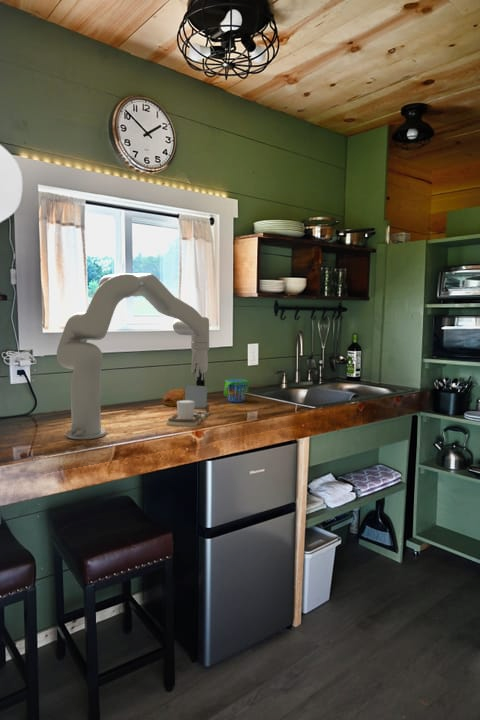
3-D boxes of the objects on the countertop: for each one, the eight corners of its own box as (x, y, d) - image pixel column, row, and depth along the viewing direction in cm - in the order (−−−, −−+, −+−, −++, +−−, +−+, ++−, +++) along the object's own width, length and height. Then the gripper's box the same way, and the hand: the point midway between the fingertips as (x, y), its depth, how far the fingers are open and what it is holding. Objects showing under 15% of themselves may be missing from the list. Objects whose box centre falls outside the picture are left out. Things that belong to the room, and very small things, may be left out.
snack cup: (240, 398, 244) (240, 377, 243) (255, 401, 236) (256, 379, 235) (216, 401, 233) (216, 380, 232) (231, 405, 225) (232, 383, 224)
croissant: (177, 404, 237) (176, 388, 237) (202, 404, 228) (200, 386, 228) (155, 408, 225) (154, 390, 225) (180, 408, 216) (179, 389, 216)
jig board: (195, 426, 184) (195, 415, 183) (166, 424, 186) (166, 414, 185) (209, 414, 205) (209, 404, 205) (183, 412, 207) (183, 403, 207)
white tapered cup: (198, 419, 190) (198, 401, 189) (184, 422, 185) (184, 403, 184) (187, 416, 194) (186, 399, 194) (173, 419, 190) (173, 401, 189)
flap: (206, 386, 204) (207, 386, 205) (185, 385, 205) (186, 385, 206) (205, 409, 203) (206, 409, 204) (184, 408, 205) (185, 408, 206)
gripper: (196, 344, 217) (196, 386, 219) (186, 347, 202) (187, 392, 204) (213, 345, 215) (213, 386, 218) (204, 348, 201) (204, 392, 203)
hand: (200, 389), depth 211 cm, fingers closed
